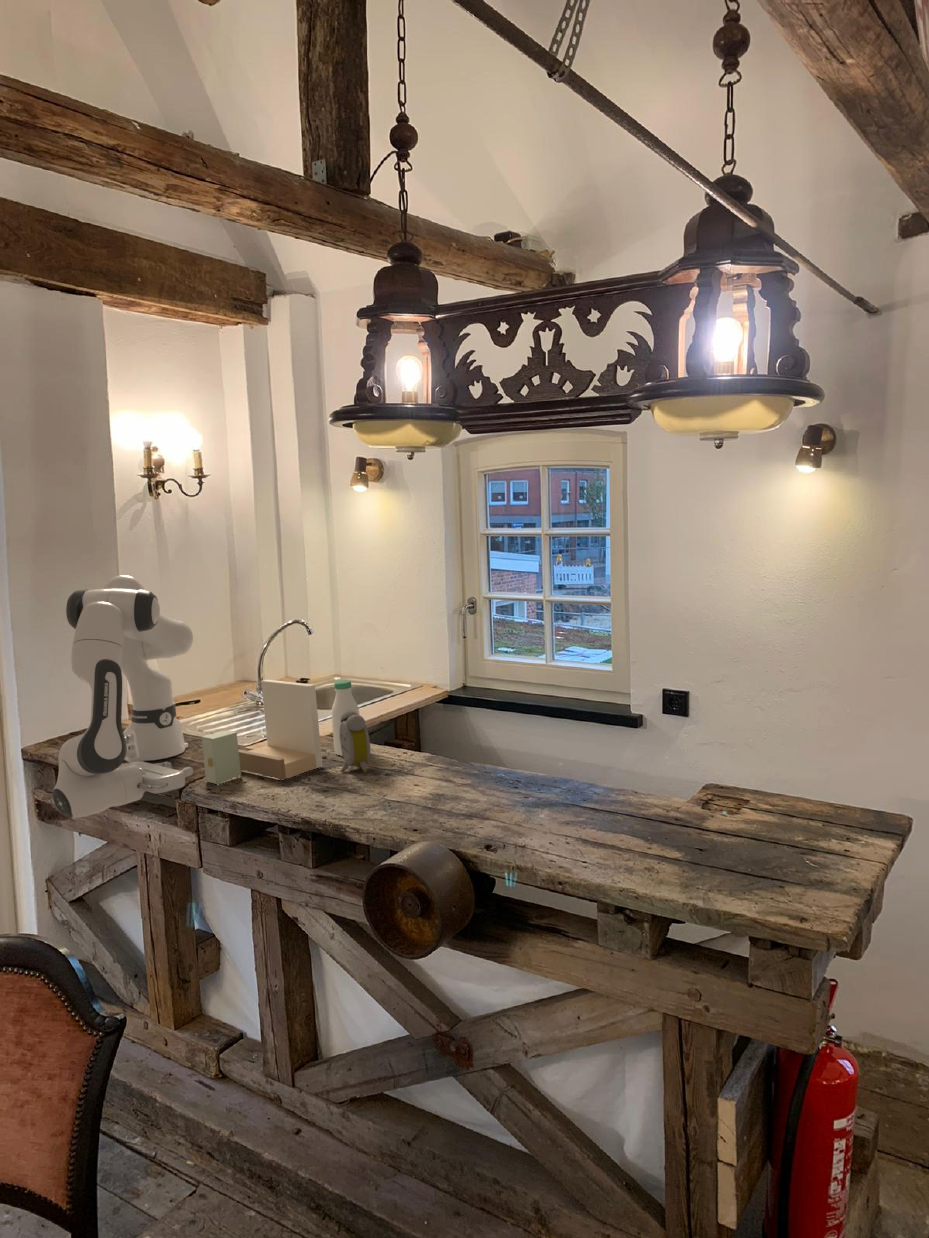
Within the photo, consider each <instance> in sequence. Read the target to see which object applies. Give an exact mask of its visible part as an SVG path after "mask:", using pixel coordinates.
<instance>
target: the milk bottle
mask: <svg viewBox="0 0 929 1238" xmlns="http://www.w3.org/2000/svg"><path fill="white" fill-rule="evenodd" d="M333 687H334V691H335V698H334V701H333V704H332V707H331V723H332V736H333V737H332V738H333V749H334V753H335V755H336V754H337V755H336V756H338V755H340V756H341V757H343V755H342V750H341V744H340V725H341V716H342V714H343V713H344V712H346V711H347V710H352V711H355V712H356V713H357V714H358V715H360V709H359V706H358V704H357V702H356V700H355V698H354V696H353V694H352V681H351V680H337V681H336V682H334V686H333ZM340 756H339V757H340Z"/></svg>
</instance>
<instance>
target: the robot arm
mask: <svg viewBox="0 0 929 1238" xmlns="http://www.w3.org/2000/svg"><path fill="white" fill-rule="evenodd" d="M65 614H66V619H67V622H68V624H69V625H70V626H71V627H72V628H73V629H74V635H73V640H72V648H71V654H70V655H71V658H70V659H71V660H70V661H71V669H72V672H73V673H74V675H75V676H76V677H77V678H78V679H79V680H81V681H83V682H84V683H87V684H88V685H89V686H90V689H91V704H90V705H91V708H90V722H89V726H88V727H87V729H86V730H85V731H84V733H81V734H79V735H76V736H73V737H72V738H71V737H70V738H69V739H67V740H66V741H64V742H63V743H62V744H61V746H60V748H59V750H58V751H57V752H58V753H57V762H58V763H57V764H58V774H57V775H58V776H57V780H56V783H55V786H54V788H53V789H52V800H53V803H54V806H55V807H56V809H57V811H58V812H59V813H60V814H62V815H63V816H65V817H66V818H69V819H79V818H83V817H88V816H92V815H95V814H99V813H102V812H104V811H106V810H108V809H109V808H112V807H121V806H123V805H124V806H125V805H127V804H130V803H133V802H137V801H140V800H141V799H142V798H143V797H144V794H145V793H146V792H148V793H152V794H162V793H166V792H171V791H174V790H178V789H181V788H183V787H185V786H186V778H188V777H189V776H193V774H194V769H193V767H191V766H186V767H183V768H182V769H181V770H179V769H175V768H173V766H172V762H171V761H164V762H159V763H158V762H157V763H150V762H146V761H157V760H162V759H168V758H171V757H176V756H178V755H180V754H182V753H184V752H185V750H186V749H187V748H189V743H188V742H185V737H184V733H183V728H182V724H181V721H180V719H178V718H177V708H176V704H175V703H174V696H173V695H174V694H173V687H172V681H171V680H172V679H170V677H169V676H168V675H167V674H166V673H164V672H161V671H159V670H156V669H153V668H152V667H151V666H150V665H149V664H148V662H147V661H149V660H159V659H170V658H174V657H178V656H182V655H184V654H185V655H186V654H187V653H188V652H189V651H190V649H191V648H192V646H193V642H194V635H193V631H192V629H191V627H190V626H189V625H188V624H187V623H186V621H183V620H178V619H175V618H172V617H169V616H166V615H165V614H163V613H161V609H160V603H159V601H158V597H157V595H155V594H154V593H153V592H152V591H149V590H146V589H145V587H144V586H143V584H141V582H139V580H137V579H136V578H135V577H133V576H131V575H126V574H125V575H124V574H121V575H117V576H114V577H112V578H110V580H108V581H107V583H106V584H105V586H104V588H96V589H95V588H94V589H88V588H85V589H79V590H75V591H73V592H72V593H71V595H70V596H69V597H68V598H67V602H66V607H65ZM122 673H123V674H122ZM123 675H124V677H125V678H126V680H127V683H128V685H129V690H130V694H131V695H130V696H131V701H132V708H133V709H130V710H129V712H130V724H129V725H128V726H127V727H126V728H125V729H124V730H123V725H122V714H123V713H122V712H123V711H122V708H123V706H122V705H123ZM124 761H126V763H123V762H124Z"/></svg>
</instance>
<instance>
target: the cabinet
mask: <svg viewBox="0 0 929 1238" xmlns="http://www.w3.org/2000/svg"><path fill="white" fill-rule="evenodd" d="M201 745H202V746H201V747H202V748H201V749H202V754H203V755H202V757H203V763H204V764H203V765H204V774H205V782H206V783H207V782H211V783H215V784H219V783H221V782H223V781H226V780H229V779H232V778H233V777H237V776H239V775H241V776H242V772H241V769H240V760H239V750H240V749H239V742H238V733H237V731H230V730H226V729H225V730H221V731H217V732H214V733H211V734H210V733H209V734H206V735H202V736H201ZM238 749H239V750H238Z"/></svg>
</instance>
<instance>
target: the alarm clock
mask: <svg viewBox="0 0 929 1238" xmlns="http://www.w3.org/2000/svg"><path fill="white" fill-rule="evenodd" d="M370 741H371V740H370V735H369V730H368V726H367V725H366V720H365V719H364V717H363V716H362V715H360V714H359V715H358V714H357V713H356V712H355V711H352V710H347V711H346V712H344V713H343V714H342V716H341V725H340V744H341V750H342V755H343V756H342V757H343V760H344V761H343V762H344V763H343V766H342V768H341V771H340V772H342V773H345V772H346V771H347V769H348V768H349V767H354V766H360V767H361V770H362V771H363V773H364V774H368V767H367V764H368V763H369V761H370V758H371V742H370Z"/></svg>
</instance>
